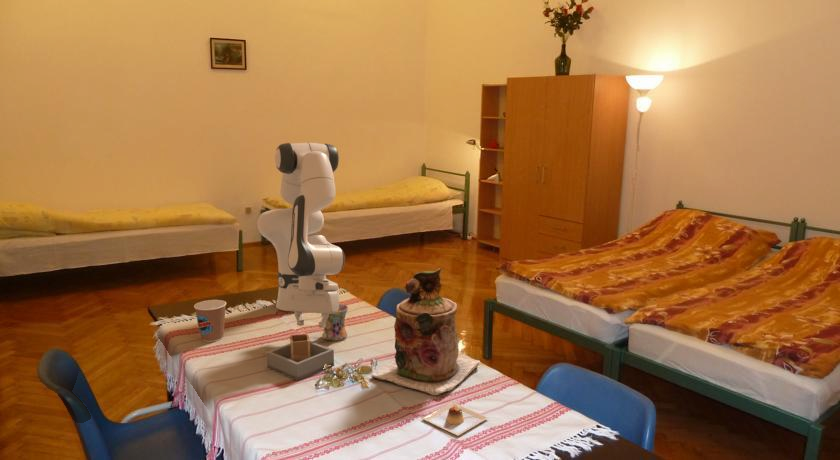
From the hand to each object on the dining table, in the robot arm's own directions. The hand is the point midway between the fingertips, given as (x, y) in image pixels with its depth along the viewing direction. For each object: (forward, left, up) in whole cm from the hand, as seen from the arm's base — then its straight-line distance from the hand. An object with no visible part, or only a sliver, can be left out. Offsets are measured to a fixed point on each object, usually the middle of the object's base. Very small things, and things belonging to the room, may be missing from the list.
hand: (311, 326), depth 199 cm
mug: (-9, 0, -6) cm, 11 cm away
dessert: (+10, +66, -7) cm, 67 cm away
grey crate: (+14, +11, -6) cm, 19 cm away
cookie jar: (-7, +43, -6) cm, 44 cm away
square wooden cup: (+14, +11, -5) cm, 19 cm away
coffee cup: (+18, -30, -6) cm, 35 cm away
